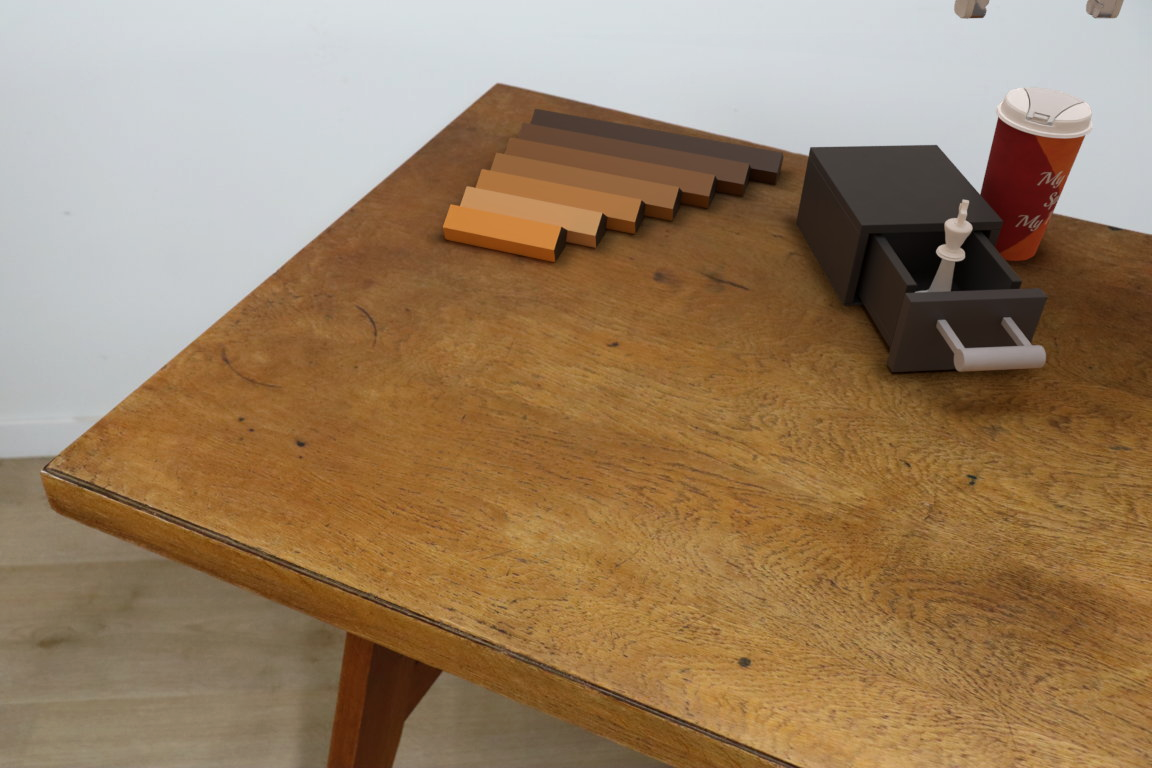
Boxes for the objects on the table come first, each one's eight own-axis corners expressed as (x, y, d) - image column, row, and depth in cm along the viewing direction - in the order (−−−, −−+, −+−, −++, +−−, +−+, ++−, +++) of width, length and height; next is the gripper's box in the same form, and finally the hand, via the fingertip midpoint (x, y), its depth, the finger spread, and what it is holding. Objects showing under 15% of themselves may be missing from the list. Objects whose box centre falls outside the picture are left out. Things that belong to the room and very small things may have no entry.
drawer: (1055, 410, 80) (1084, 339, 76) (918, 417, 78) (939, 345, 75) (957, 278, 94) (977, 212, 90) (839, 282, 92) (853, 215, 88)
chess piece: (900, 326, 85) (931, 211, 79) (901, 293, 89) (930, 181, 83) (966, 337, 85) (1002, 222, 78) (964, 303, 88) (998, 191, 82)
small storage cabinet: (976, 307, 92) (1003, 221, 87) (841, 312, 90) (861, 225, 85) (915, 225, 102) (937, 144, 97) (794, 228, 101) (810, 146, 96)
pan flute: (780, 176, 109) (540, 132, 114) (785, 144, 107) (541, 101, 112) (727, 308, 90) (443, 248, 96) (733, 273, 88) (442, 213, 93)
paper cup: (1035, 282, 95) (1089, 131, 87) (947, 256, 98) (990, 107, 90) (1053, 244, 101) (1105, 98, 92) (969, 220, 104) (1012, 76, 95)
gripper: (1232, -221, 70) (1153, 0, 78) (923, -230, 67) (875, -1, 75) (1296, -201, 65) (1204, 32, 73) (964, -210, 62) (908, 33, 70)
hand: (1034, 15), depth 74 cm, fingers open, 8 cm apart
